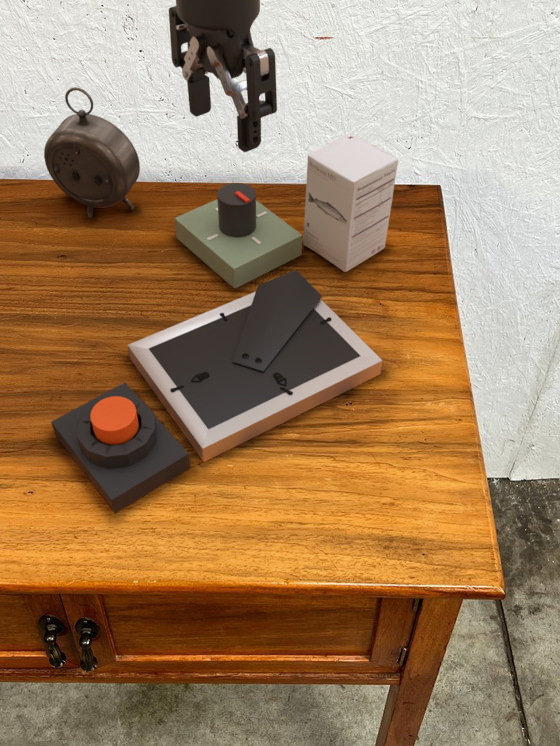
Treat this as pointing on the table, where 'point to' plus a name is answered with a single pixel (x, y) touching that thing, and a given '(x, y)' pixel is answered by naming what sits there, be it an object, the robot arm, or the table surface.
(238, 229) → the dial knob
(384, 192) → the white packaging box
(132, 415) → the orange button cap
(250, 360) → the picture frame
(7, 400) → the table surface
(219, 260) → the dial panel
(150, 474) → the button base
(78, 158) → the alarm clock
